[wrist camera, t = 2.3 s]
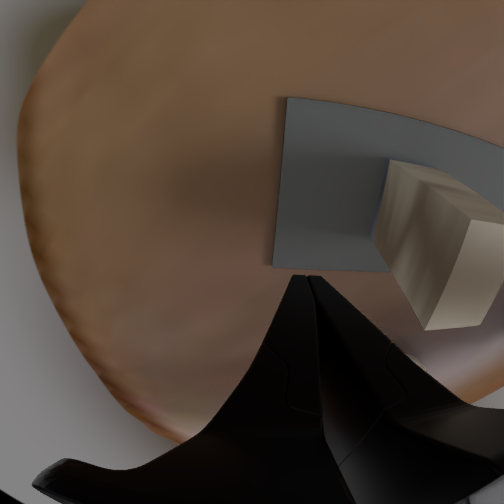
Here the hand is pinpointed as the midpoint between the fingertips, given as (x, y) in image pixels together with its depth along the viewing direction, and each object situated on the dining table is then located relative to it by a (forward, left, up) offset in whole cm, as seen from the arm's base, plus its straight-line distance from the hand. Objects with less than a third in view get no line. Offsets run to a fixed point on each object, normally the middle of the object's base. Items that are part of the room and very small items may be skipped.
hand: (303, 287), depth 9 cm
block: (0, -7, -9) cm, 11 cm away
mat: (0, -10, -9) cm, 13 cm away
